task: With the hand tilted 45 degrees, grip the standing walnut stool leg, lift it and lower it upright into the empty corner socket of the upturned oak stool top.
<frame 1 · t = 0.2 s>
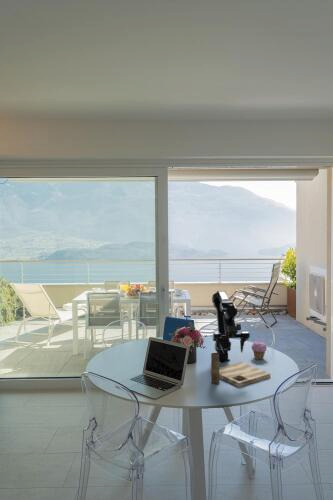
hand: (232, 352, 208), 15 cm above the table, tool tilted 35°, fingers open, 9 cm apart
cupcake: (259, 358, 242), on the table
stool top: (240, 375, 216), on the table
stool leg: (215, 382, 206), on the table
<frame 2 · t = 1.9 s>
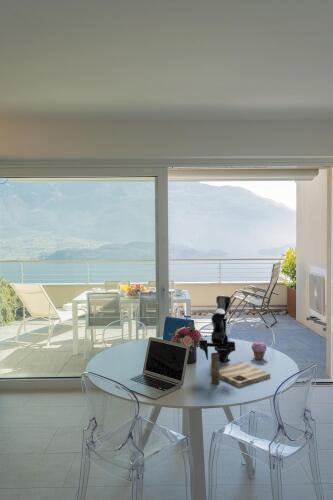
hand: (215, 360, 209), 11 cm above the table, tool tilted 45°, fingers open, 9 cm apart
nothing on the table moved.
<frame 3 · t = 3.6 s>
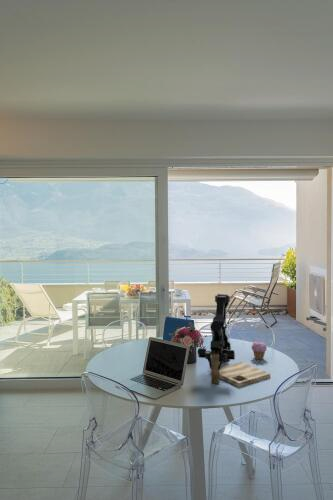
hand: (214, 369, 205), 8 cm above the table, tool tilted 45°, fingers closed on stool leg, 4 cm apart
stool leg: (215, 382, 206), on the table, touching gripper
everything else where it was.
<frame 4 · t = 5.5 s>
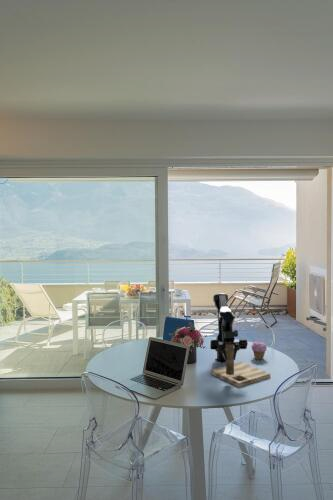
hand: (230, 359, 204), 12 cm above the table, tool tilted 45°, fingers closed on stool leg, 4 cm apart
stool leg: (229, 373, 206), point 5 cm above the table, touching gripper
everything else where it was.
when the fingers open (9 cm above the table, at t = 7.2 s): stool leg drops 1 cm, resting in stool top.
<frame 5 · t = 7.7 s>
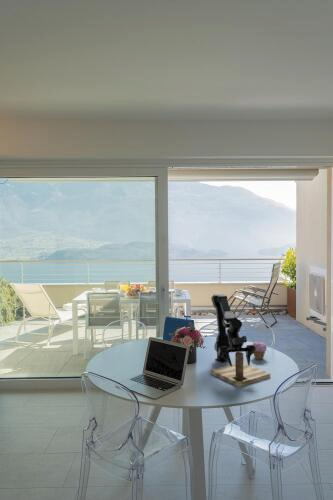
hand: (240, 365, 205), 9 cm above the table, tool tilted 45°, fingers open, 9 cm apart
stool leg: (239, 382, 207), resting in stool top
everything else where it was.
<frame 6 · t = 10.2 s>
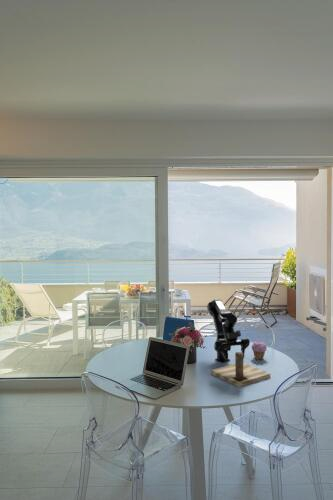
hand: (235, 359, 214), 9 cm above the table, tool tilted 45°, fingers open, 9 cm apart
nothing on the table moved.
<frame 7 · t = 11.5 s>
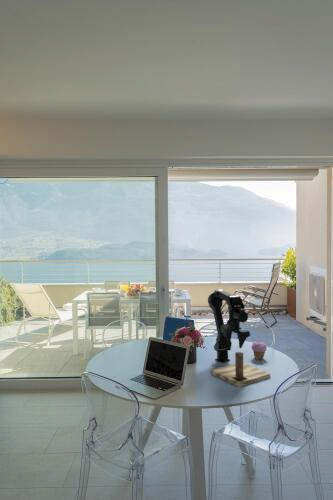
hand: (234, 346, 224), 13 cm above the table, tool pointing down, fingers open, 9 cm apart
nothing on the table moved.
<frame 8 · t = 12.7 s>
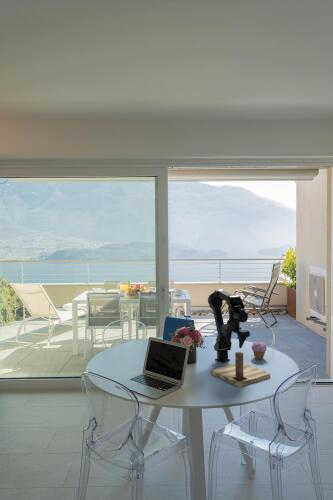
hand: (234, 346, 224), 13 cm above the table, tool pointing down, fingers open, 9 cm apart
nothing on the table moved.
at the end: stool leg 0.1 cm from the target spot on the stool top, point 0.0 cm above the stool top's base; stool leg tilted 0°; the gripper is holding nothing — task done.
